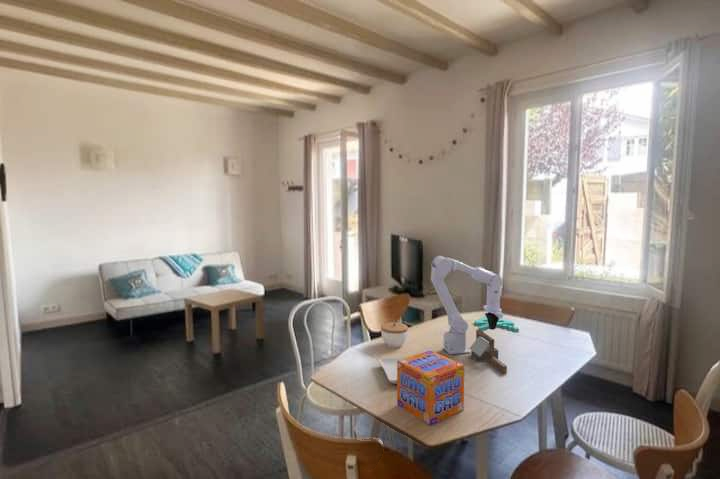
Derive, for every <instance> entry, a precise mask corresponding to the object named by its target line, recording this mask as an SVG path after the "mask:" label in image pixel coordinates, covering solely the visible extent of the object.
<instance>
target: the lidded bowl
mask: <svg viewBox="0 0 720 479" xmlns="http://www.w3.org/2000/svg"><path fill="white" fill-rule="evenodd" d="M380 329H381V331H380V332H381V338H382V341H383V342H384V343H385V345H386V347H388V348H393V349H398V348H402V347H403V345H404V344H405V343H406V341H407V338H408V333H409V332H408V331H409V330H408V329H409V327H408V325H406V324H404V323H401V322H395V321H394V322H385V323H384V324H382V325H381V327H380Z"/></svg>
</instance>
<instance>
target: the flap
mask: <svg viewBox="0 0 720 479" xmlns="http://www.w3.org/2000/svg"><path fill="white" fill-rule="evenodd" d="M488 347H489V342H488V341H487V340H485V339H484V338H482V337H480V336H479V337H478V338H477V340H476V339H475V341H474V342H473V343H472V345H470V347H469V350H471V351H473V352H474V353H476V354H477V355H478V356H479V357H480V356H481V355H482V354H483V353H484V351H485V350H486V349H487V348H488Z"/></svg>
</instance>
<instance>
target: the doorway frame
mask: <svg viewBox="0 0 720 479" xmlns="http://www.w3.org/2000/svg"><path fill="white" fill-rule="evenodd" d="M475 331H476V334H475V336H476V337H475V341H476V340H477V338H478V337H479V336H480V337H481V338H483V339H484V340H485V341H487V342H488V343H489V346H488V347H489V360H488V363H489V364H490V365H491V366H493V367H494V368H495V369H497V371H499V372H500V373H502V374H503V375H504V374H505V375H506V374H507V373H508V370H507V369H508V366H507V364H505V363H503V362H502V361H501V360H499V358H498V359H497V358H495V357H494V348H495V339H494V338H493V337H491V336H490V335H488V334H487V333H485V332H484V331H481V330H478V329H476V330H475Z"/></svg>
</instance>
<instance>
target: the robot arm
mask: <svg viewBox="0 0 720 479" xmlns="http://www.w3.org/2000/svg"><path fill="white" fill-rule="evenodd" d="M430 265H431V272H430V281H431V283H432V285H433V287H434V289H435V291H436V294H437V296H438V297H439V299H440V302H441V304H442V307H443V308H444V310H445V312H446V317H447V318H448V320H447V323H448V325H449V326H450V328H449V331H445V332H444V334H443V347H442V349H443V350H445V352H447V353H448V354H449V355H458V354H468V353H470V350H468V349H467V344H466V343H467V330H468V329H469V324H468V322H467V321H466V320H465V319H463V316H462V314H461V313H460V311H458V308H457V306H456V303H455V302H454V300H453V298H452V296H451V294H450V291H449V290H448V287H447V284H446V283H445V281H444V280H445V278H446V277H447V275H448V274H449V273H450V272H451V271H455V270H459V271H461V272H464V273H467V274H468V275H471V277H472V279H473V280H476V281H478V282H480V283H483V284H486V304H485V305H483V306H482V307H483V311H486V313H484V316H485V317H487V320H488V324H489V328H490V329H489V330H491V331H492V330H494V331H495V330H496V329H497V327H496V325H497V322H498V320H499V318H502V319H503V318H504V313H502V311H503V310H502V308H500V306H501V304H500V303H501V287H502V285H503V283H504V281H503V278H502V277H501V275H499V274H496V273H494V272H493V271H492V270H490V271H489V270H488V269H487V270H486V269H485V268H484V267H483V266H476V267H472V266H470V265H468V264H466V263H463V262H460V261H459V260H456V259H453V258H451V257H444V256H443V255H437V256H435V257H434V258H433V260H432V262H431V264H430Z"/></svg>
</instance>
